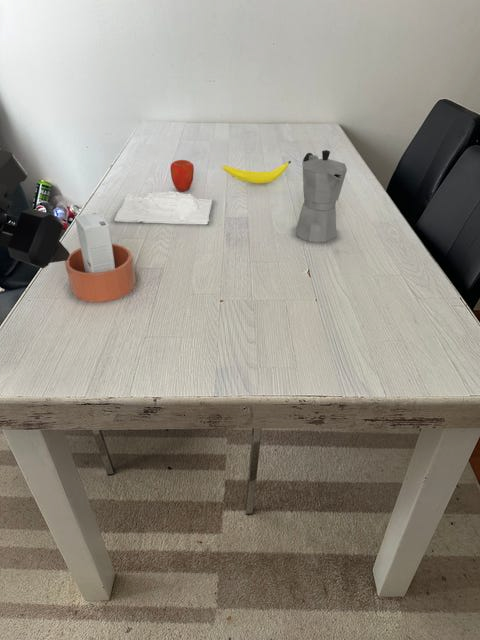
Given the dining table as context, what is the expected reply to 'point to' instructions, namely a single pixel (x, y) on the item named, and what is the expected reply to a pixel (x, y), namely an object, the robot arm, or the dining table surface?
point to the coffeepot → (320, 197)
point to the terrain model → (165, 209)
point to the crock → (102, 277)
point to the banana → (256, 174)
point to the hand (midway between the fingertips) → (42, 249)
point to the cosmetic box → (95, 242)
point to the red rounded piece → (182, 174)
